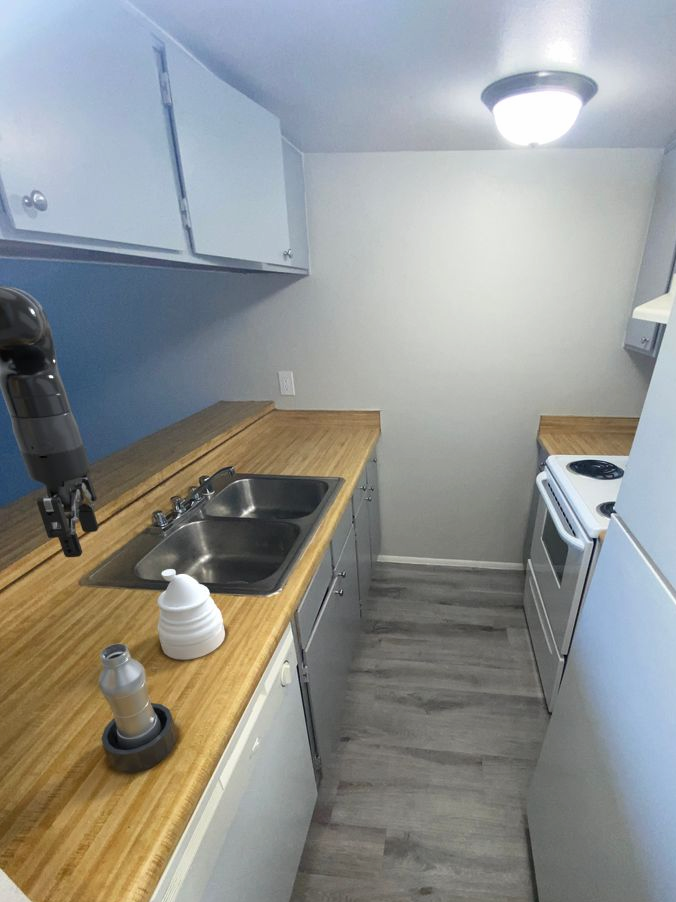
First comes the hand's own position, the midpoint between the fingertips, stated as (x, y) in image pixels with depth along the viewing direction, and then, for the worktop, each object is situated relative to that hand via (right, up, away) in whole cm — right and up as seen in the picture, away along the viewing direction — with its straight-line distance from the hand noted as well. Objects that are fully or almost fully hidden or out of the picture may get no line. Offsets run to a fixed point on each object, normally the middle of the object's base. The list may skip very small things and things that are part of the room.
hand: (83, 543), depth 75 cm
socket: (+7, -34, +4) cm, 35 cm away
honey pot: (+5, -22, +29) cm, 36 cm away
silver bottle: (+7, -34, +4) cm, 35 cm away
